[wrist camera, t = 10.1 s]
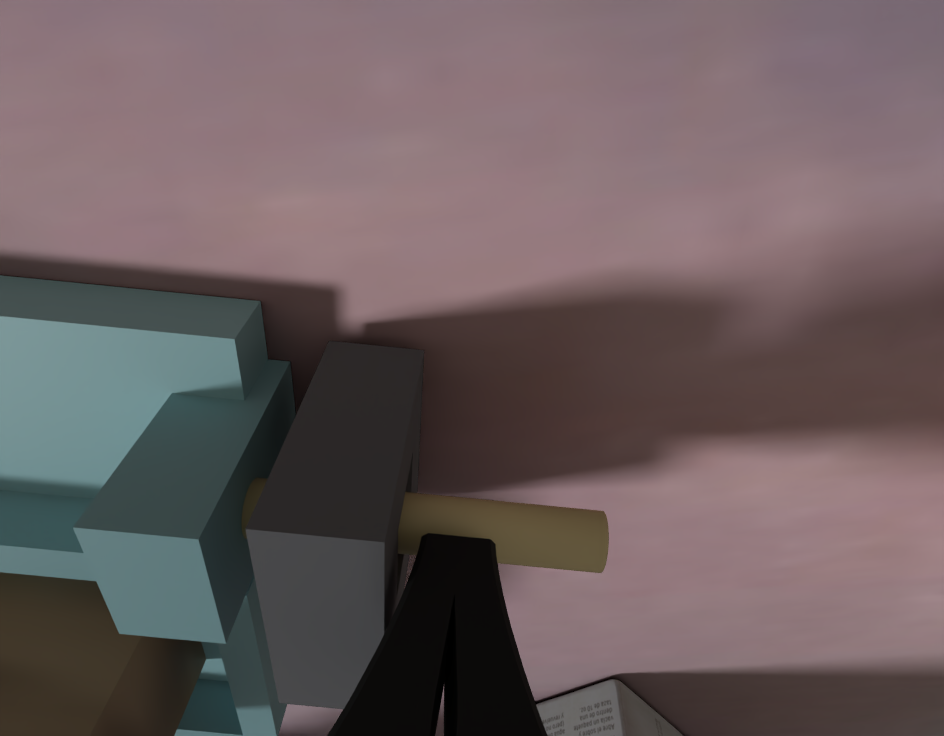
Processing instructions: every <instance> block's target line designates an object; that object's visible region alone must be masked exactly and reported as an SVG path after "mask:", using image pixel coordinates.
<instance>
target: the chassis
mask: <svg viewBox="0 0 944 736" xmlns="http://www.w3.org/2000/svg"><path fill="white" fill-rule="evenodd" d="M295 416H296V412H295V402H294V393H293V383H292V374H291V364H290V361H280V360H270V359H268V355H267V347H266V340H265V332H264V324H263V317H262V309H261V301H255V300H245V299H234V298H224V297H214V296H204V295H194V294H184V293H174V292H164V291H154V290H143V289H133V288H123V287H113V286H103V285H93V284H83V283H73V282H63V281H52V280H42V279H32V278H22V277H12V276H2V275H0V572H4V573H14V574H25V575H35V576H46V577H56V578H67V579H77V580H88V581H96V582H97V584H98V586H99V589H100V591H101V593H102V596H103V598H104V600H105V602H106V605H107V607H108V609H109V612H110V614H111V616H112V618H113V621H114V623H115V625H116V628H117V630H118V632H119V634H126V635H137V636H148V637H158V638H169V639H179V640H190V641H200V642H201V643H202V646H203V649H204V653H205V656H206V661H205V664H204V666H203V668H202V671H201V673H200V676H199V678H198V680H197V683H196V685H195V687H194V690H193V692H192V695H191V697H190V699H189V702H188V704H187V707H186V709H185V711H184V714H183V716H182V718H181V721H180V723H179V726H178V728H177V730H176V733H175V735H174V736H278V734H279V730H280V727H281V724H282V720H283V717H284V713H285V710H286V706H287V704H284V703H279V700H278V695H277V690H276V685H275V680H274V674H273V669H272V664H271V659H270V654H269V649H268V644H267V638H266V633H265V628H264V623H263V618H262V613H261V607H260V602H259V597H258V592H257V587H256V582H255V577H254V571H253V566H252V561H251V556H250V551H249V546H248V541H247V535H246V530H245V529H246V526H247V524H248V522H249V520H250V517H251V515H252V513H253V511H254V508H255V506H256V504H257V502H258V499H259V497H260V495H261V493H262V490H263V488H264V486H265V484H266V481H267V479H268V477H269V475H270V472H271V470H272V468H273V466H274V463H275V461H276V459H277V457H278V454H279V452H280V450H281V448H282V445H283V443H284V441H285V439H286V437H287V434H288V432H289V430H290V428H291V425H292V423H293V421H294V419H295ZM427 533H434V534H444V535H454V536H465V537H475V538H485V539H491V540H492V541H493V542H494V543H495V544H496V556H497V563H501V564H512V565H522V566H532V567H543V568H553V569H564V570H574V571H585V572H595V573H602V572H603V570H604V568H605V565H606V561H607V555H608V543H609V532H608V522H607V517H606V514H605V512H604V511H597V510H587V509H576V508H566V507H556V506H545V505H535V504H525V503H514V502H504V501H494V500H483V499H473V498H463V497H452V496H442V495H432V494H421V493H411V492H405V497H404V502H403V507H402V512H401V518H400V523H399V528H398V554H407V555H417V553H418V549H419V545H420V541H421V536H423V535H425V534H427Z"/></svg>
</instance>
